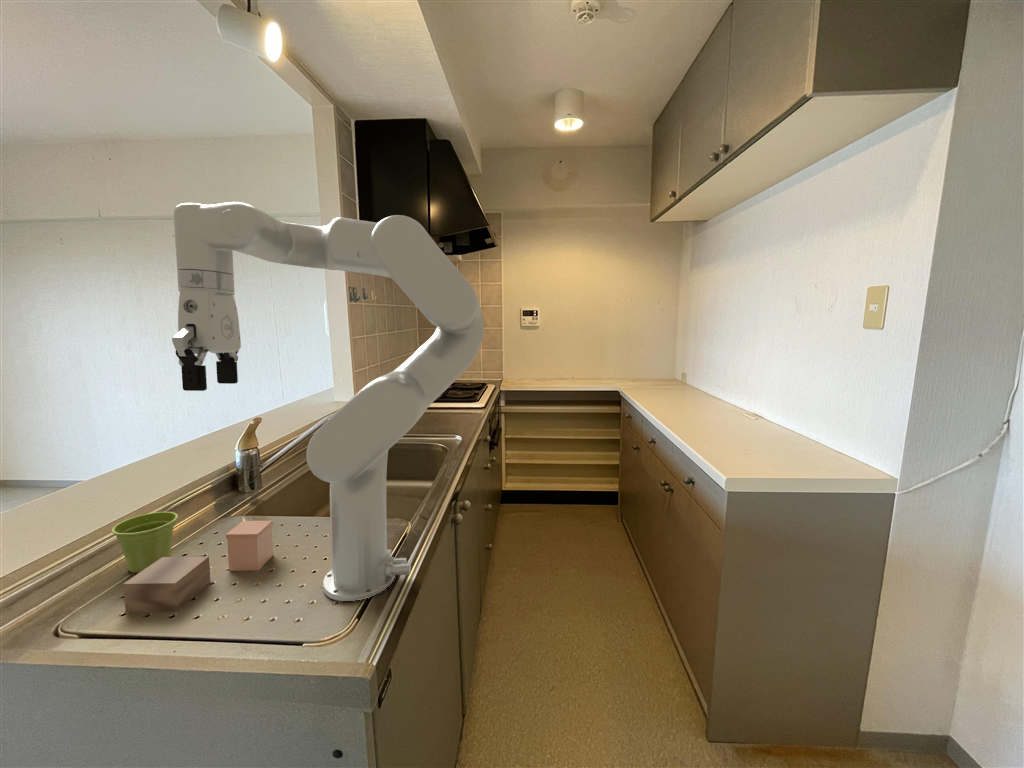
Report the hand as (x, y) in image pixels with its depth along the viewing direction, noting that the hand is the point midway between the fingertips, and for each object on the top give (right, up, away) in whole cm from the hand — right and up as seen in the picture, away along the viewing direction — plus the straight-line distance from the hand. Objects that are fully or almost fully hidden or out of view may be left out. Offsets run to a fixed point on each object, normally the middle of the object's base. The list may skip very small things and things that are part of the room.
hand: (212, 386), depth 70 cm
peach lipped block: (0, -35, +11) cm, 37 cm away
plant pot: (-19, -35, +10) cm, 41 cm away
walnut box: (-7, -36, 0) cm, 37 cm away
